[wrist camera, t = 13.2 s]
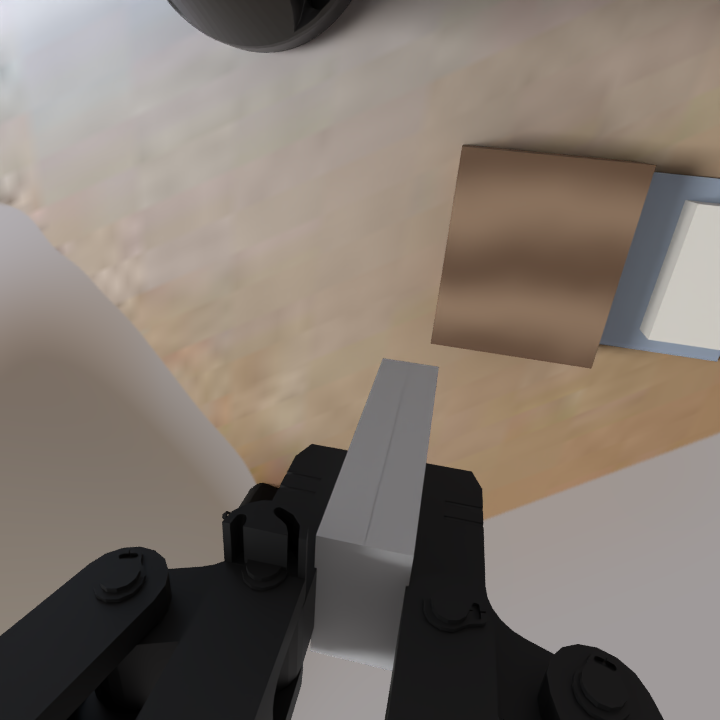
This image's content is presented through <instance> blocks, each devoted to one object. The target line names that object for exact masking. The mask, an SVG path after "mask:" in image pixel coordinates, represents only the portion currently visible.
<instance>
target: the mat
mask: <svg viewBox="0 0 720 720" xmlns="http://www.w3.org/2000/svg"><path fill="white" fill-rule="evenodd" d="M685 200H691V201H700V202H709V203H718V204H720V179H718V178H708V177H698V176H688V175H678V174H668V173H658V172H654V174H653V177H652V180H651V183H650V187H649V190H648V193H647V196H646V199H645V202H644V205H643V208H642V212H641V215H640V218H639V221H638V224H637V227H636V230H635V233H634V237H633V240H632V243H631V246H630V249H629V252H628V255H627V259H626V262H625V265H624V268H623V271H622V274H621V277H620V280H619V284H618V287H617V290H616V293H615V296H614V299H613V302H612V305H611V309H610V312H609V315H608V318H607V321H606V324H605V327H604V330H603V334H602V337H601V340H600V343H599V344H603V345H610V346H616V347H623V348H630V349H637V350H643V351H650V352H657V353H664V354H670V355H677V356H684V357H691V358H697V359H704V360H711V361H718V358H719V356H720V350H715V349H709V348H702V347H695V346H688V345H681V344H675V343H668V342H661V341H654V340H648V339H647V338H646V336H645V335H644V334H643V333H642V332H641V331H640V326H641V323H642V320H643V318H644V315H645V312H646V309H647V306H648V304H649V301H650V298H651V295H652V292H653V290H654V287H655V284H656V281H657V278H658V276H659V273H660V270H661V267H662V264H663V262H664V259H665V256H666V253H667V250H668V247H669V245H670V242H671V239H672V236H673V233H674V231H675V228H676V225H677V222H678V219H679V217H680V214H681V211H682V208H683V205H684V203H685Z"/></svg>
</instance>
